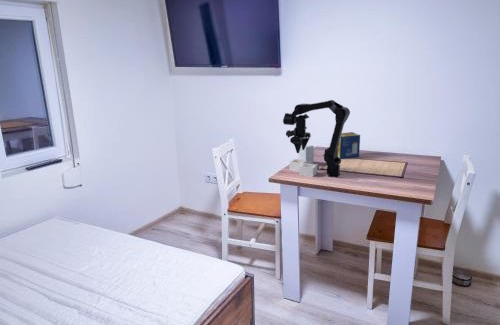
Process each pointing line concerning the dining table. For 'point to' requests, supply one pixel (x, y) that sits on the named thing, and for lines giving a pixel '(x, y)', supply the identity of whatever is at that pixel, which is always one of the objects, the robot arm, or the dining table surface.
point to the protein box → (349, 145)
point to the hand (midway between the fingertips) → (300, 151)
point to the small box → (307, 154)
